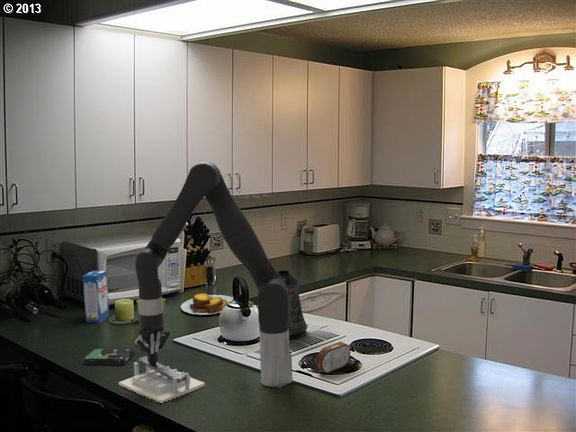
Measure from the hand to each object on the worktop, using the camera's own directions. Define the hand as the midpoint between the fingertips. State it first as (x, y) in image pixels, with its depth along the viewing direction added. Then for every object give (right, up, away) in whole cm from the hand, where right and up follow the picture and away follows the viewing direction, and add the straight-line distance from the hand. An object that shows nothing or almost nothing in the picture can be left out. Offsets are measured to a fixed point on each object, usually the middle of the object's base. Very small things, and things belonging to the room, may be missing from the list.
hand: (152, 363), depth 207 cm
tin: (+58, -4, +9) cm, 59 cm away
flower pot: (-15, +3, +68) cm, 69 cm away
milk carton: (-39, +3, +72) cm, 82 cm away
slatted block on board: (+3, -7, -1) cm, 8 cm away
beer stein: (+43, +1, +45) cm, 62 cm away
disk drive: (-20, -4, +23) cm, 31 cm away
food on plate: (+8, +5, +84) cm, 84 cm away
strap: (+3, -2, -2) cm, 4 cm away
